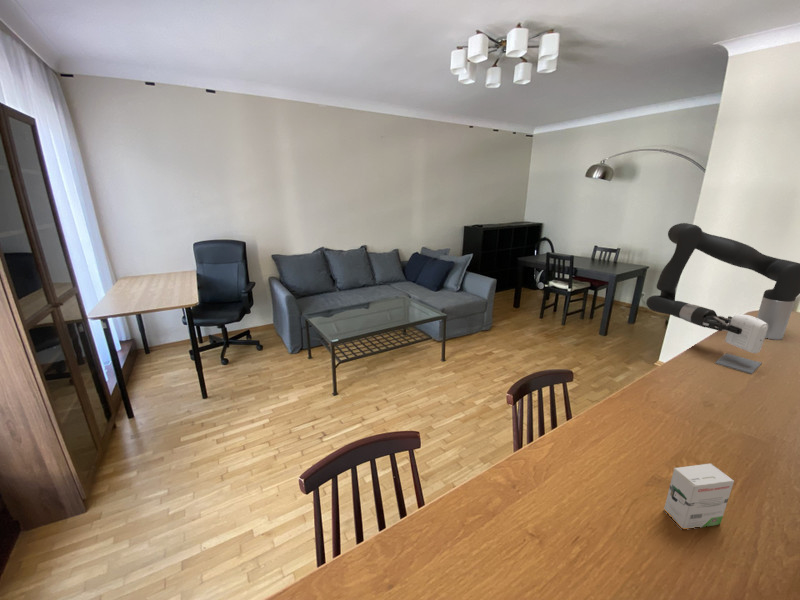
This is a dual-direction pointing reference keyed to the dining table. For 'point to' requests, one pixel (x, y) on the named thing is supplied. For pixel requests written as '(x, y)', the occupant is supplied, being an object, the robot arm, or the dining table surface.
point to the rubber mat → (738, 363)
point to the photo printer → (747, 333)
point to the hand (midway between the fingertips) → (745, 330)
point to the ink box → (698, 495)
